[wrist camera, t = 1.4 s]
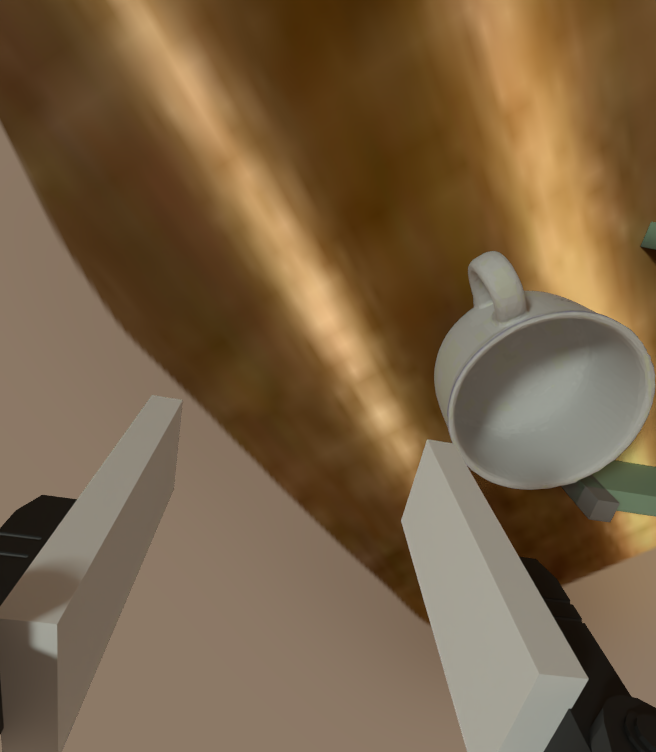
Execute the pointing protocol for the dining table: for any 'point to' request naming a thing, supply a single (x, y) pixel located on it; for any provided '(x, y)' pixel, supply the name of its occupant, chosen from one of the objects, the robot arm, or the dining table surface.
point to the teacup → (538, 383)
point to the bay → (618, 474)
